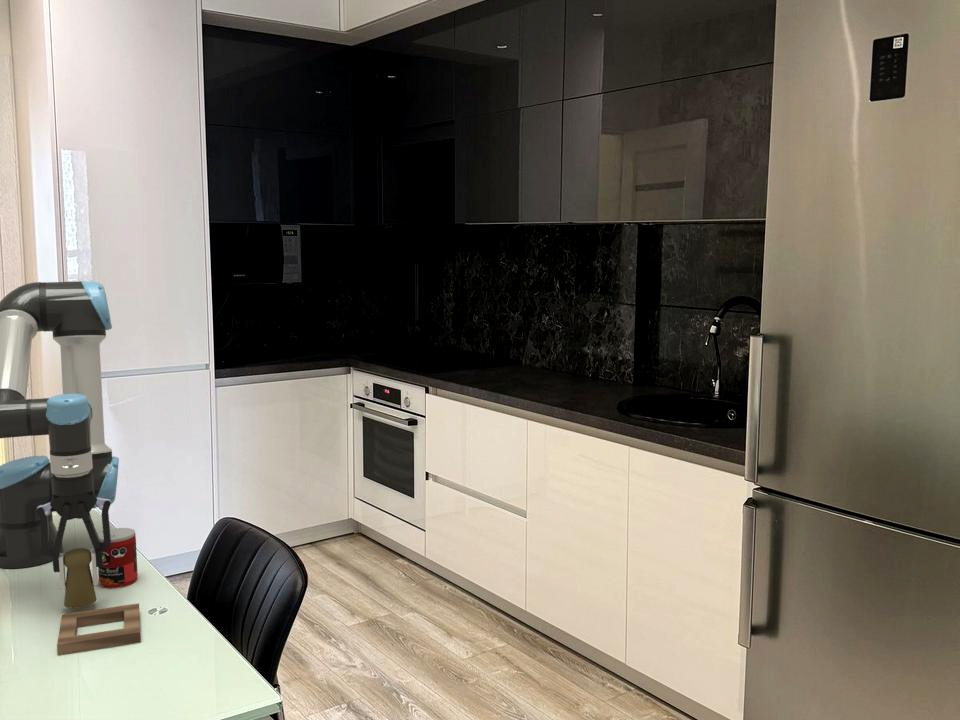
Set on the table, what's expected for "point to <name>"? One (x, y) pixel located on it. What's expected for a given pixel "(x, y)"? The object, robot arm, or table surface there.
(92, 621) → the socket plate
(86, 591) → the cork
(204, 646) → the table surface
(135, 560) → the canned food
